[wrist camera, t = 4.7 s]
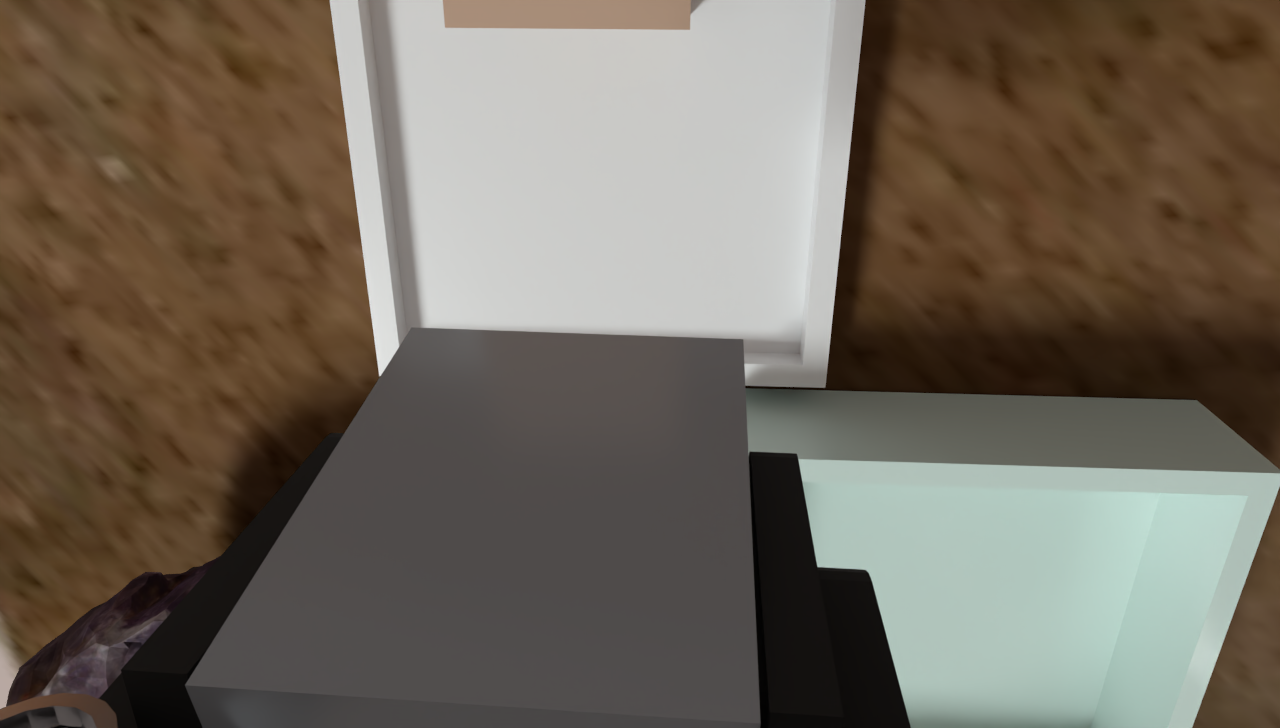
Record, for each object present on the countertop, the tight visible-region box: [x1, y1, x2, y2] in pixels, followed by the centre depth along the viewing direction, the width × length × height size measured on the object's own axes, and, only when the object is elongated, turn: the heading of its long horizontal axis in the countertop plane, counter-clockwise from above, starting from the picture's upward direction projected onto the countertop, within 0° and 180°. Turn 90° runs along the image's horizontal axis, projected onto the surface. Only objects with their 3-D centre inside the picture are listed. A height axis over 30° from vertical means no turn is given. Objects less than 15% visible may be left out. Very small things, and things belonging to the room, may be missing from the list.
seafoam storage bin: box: [745, 388, 1280, 728], centre depth 24 cm, size 13×13×4 cm
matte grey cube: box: [185, 327, 761, 728], centre depth 9 cm, size 4×4×5 cm
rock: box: [6, 556, 221, 707], centre depth 23 cm, size 12×9×10 cm
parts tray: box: [330, 0, 865, 388], centre depth 19 cm, size 11×14×1 cm
